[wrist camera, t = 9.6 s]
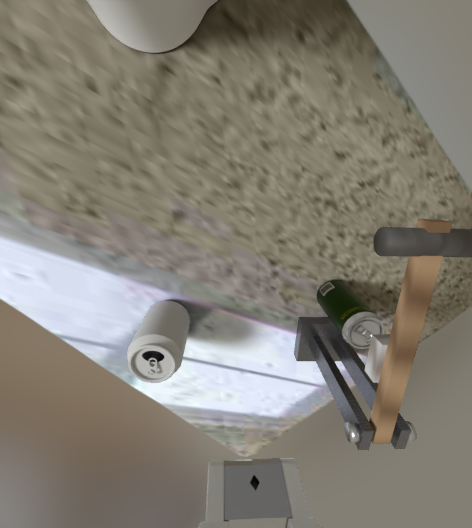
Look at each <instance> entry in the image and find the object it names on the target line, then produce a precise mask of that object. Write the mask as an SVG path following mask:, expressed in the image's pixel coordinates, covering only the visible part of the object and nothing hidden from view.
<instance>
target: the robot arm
mask: <svg viewBox="0 0 472 528" xmlns="http://www.w3.org/2000/svg"><path fill="white" fill-rule="evenodd" d="M217 1H218V0H87V2H88V3H89V4H90V6H91V7H92V9H93V10H94V12H95V14H96V15H97V17H98V18H99V20H100V21H101V23H102V24H103V25H104V26H105V28H106V29H107V30H108V31H109V32H110V33H111V34H112V35H113V36H114V37H116V38H117V39H118V40H119V41H121V42H122V43H124V44H125V45H127V46H129V47H131V48H133V49H136V50H139V51H143V52H150V53H159V52H165V51H169V50H171V49H174V48H176V47H178V46H179V45H181V44H182V43H184V42H185V41H186V40H187V39H188V38H189V37H190V36H191V35H192V34H193V33H194V31H195V30H196V29H197V27H198V26H199V24H200V22H201V20H202V18H203V16H204V14H205V13H206V11H207V10H208V8H209V7H210V6H212V5H213V4H214V3H216V2H217ZM198 528H323V527H322V526H321V525H320V523H319V522H318V521H317V520H316V518H311V517H310V514H309V510H308V506H307V502H306V498H305V494H304V490H303V486H302V482H301V478H300V474H299V471H298V466H297V462H296V461H295V459H294V458H272V459H253V460H227V461H226V460H225V461H224V460H216V461H209V466H208V484H207V504H206V522H201V523H200V525H199V527H198Z"/></svg>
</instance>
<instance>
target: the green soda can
mask: <svg viewBox="0 0 472 528" xmlns="http://www.w3.org/2000/svg"><path fill="white" fill-rule="evenodd" d="M317 300H318V303H319V304H320V306H321V307H322V308H323V310H324V311H325V313H326V314H327V315H328V317H329V318H330V320H331V321H332V323H333V324H334V325H335V327H336V328H337V330H338V331H339V332H340V334H341V335H342V337H343V338H344V339H345V340H346V341H347V342H348V343H349V344H351V345H352V346H353V347H355V348H358V349H366V348H370V343H371V338H372V335H374V334H384V326H383V323H382V322H381V320H380V318H379V317H378V316H377V315H376V314H375V313H374V312H373V311H372V310H371V309H370V308H369V307H368V306H367V305H366V304H365V303H364V302H363V301H362V300H361V299H359V298H358V297H357V296H356V295H355V294H354V293H353V292H352V291H351V290H350V289H349V288H348V287H347V286H346V285H345V284H344V283H343V282H341V281H338V280H329V281H326V282H324V283H323V284H322V285H320V287H319V288H318V291H317Z"/></svg>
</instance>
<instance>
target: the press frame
mask: <svg viewBox="0 0 472 528" xmlns="http://www.w3.org/2000/svg"><path fill="white" fill-rule="evenodd" d="M294 355H295V358H296V360H297V361H316V362H317V364H318V367H319V369H320V371H321V373H322V375H323V377H324V379H325V381H326V383H327V385H328V387H329V389H330V392H331V394H332V396H333V398H334V400H335V402H336V404H337V406H338V408H339V410H340V412H341V414H342V416H343V419H344V421H345V434H346V437H347V439H348V441H349V442H350V443H355V444H356V446H357V448H358V450H369V447H370V443H371V440H372V437H373V433H374V430H373V428H372V427H371V425H370V423H369V421H368V420H367V418H366V416H365V415H364V413H363V411H362V409H361V408H360V406H359V404H358V402H357V401H356V399H355V397H354V395H353V394H352V392H351V390H350V388H349V387H348V385H347V383H346V381H345V380H344V378H343V376H342V374H341V373H340V371H339V369H338V367H337V366H336V364H335V362H334V361H342V363H343V365H344V366H345V368H346V370H347V371H348V373H349V375H350V376H351V378H352V379H353V381H354V383H355V384H356V386H357V388H358V389H359V391H360V392H361V394H362V396H363V397H364V399H365V401H366V402H367V404H368V405H369V407H370V409H371V410H372V408H373V404H374V400H375V396H376V392H377V388H378V383H373V381H372V380H371V379H370V377H369V376H368V375H367V373H366V372H365V365H364V363H363V362H362V361H361V359H360V358H359V356H358V355H357V354H356V352H355V351H354V349H353V346H352V345H351V344H349V343H348V342H347V341H346V340H345V339H344V338H343V337H342V335H341V334H340V332H339V331H338V330H337V328H336V327H335V325H334V324H333V323H332V321H331V320H330V318H329V317H299V320H298V328H297V336H296V343H295V351H294ZM416 438H417V434H416V431H415V428H414V426H413V425H412V423H410V422H409V421H405V420H404V419H403V418H402V416H401V415H400V414H399V413H398V417H397V420H396V424H395V427H394V431H393V434H392V438H391V441H390V442H391V443H392V445H393V446H394V448H395V449H404V448H405V447H406V444H407V442H408V441H415V440H416Z"/></svg>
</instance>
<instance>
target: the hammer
mask: <svg viewBox="0 0 472 528" xmlns="http://www.w3.org/2000/svg"><path fill="white" fill-rule="evenodd" d="M452 223H453V222H449V221H443V220H430V219H418V223H417V227H416V228H396V227H382V228H380V229H378V231H377V232H376V234H375V237H374V249H375V252H376V253H377V254H378V255H379V256H409V260H408V264H407V268H406V272H405V276H404V280H403V285H402V289H401V293H400V297H399V301H398V305H397V309H396V313H395V318H394V322H393V326H392V330H391V334H374V335H372V338H371V343H370V348H369V352H368V357H367V361H366V366H365V372H366V373H367V375H368V376H369V377H370V379H371V380H372V381H373V383H378V388H377V392H376V396H375V400H374V404H373V408H372V412H371V417H370V421H369V423H370V425H371V427H372V428H373V430H374V433H373V437H372V440H371V441H372V443H373V444H390V441H391V438H392V434H393V431H394V427H395V424H396V420H397V417H398V413H399V410H400V406H401V403H402V399H403V396H404V392H405V388H406V385H407V382H408V378H409V375H410V371H411V367H412V364H413V360H414V357H415V353H416V350H417V346H418V343H419V339H420V336H421V332H422V329H423V325H424V322H425V318H426V315H427V311H428V308H429V304H430V301H431V297H432V293H433V290H434V286H435V283H436V279H437V276H438V272H439V269H440V265H441V262H442V258H443V257H472V229H451V227H452Z"/></svg>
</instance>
